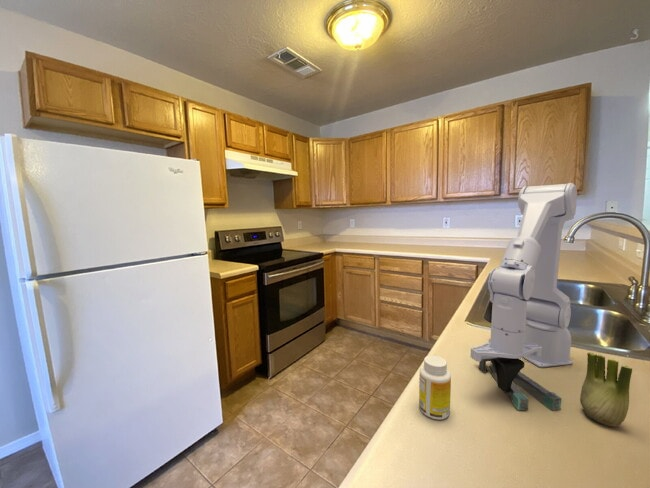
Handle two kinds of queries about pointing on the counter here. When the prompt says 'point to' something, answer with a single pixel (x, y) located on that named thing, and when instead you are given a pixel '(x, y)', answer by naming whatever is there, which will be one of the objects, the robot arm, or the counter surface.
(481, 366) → the grey stepped block
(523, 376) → the tongs base
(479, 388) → the counter surface
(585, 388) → the fennel bulb
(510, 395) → the bar
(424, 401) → the supplement bottle
